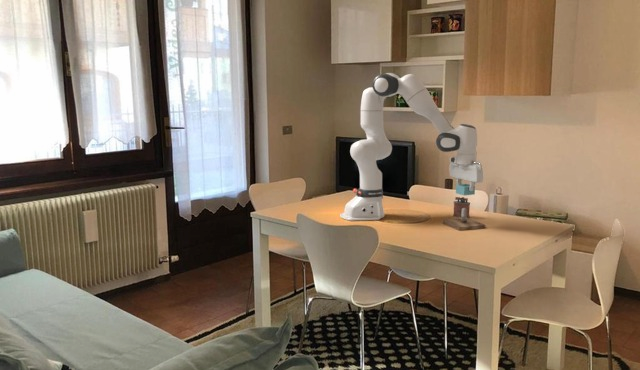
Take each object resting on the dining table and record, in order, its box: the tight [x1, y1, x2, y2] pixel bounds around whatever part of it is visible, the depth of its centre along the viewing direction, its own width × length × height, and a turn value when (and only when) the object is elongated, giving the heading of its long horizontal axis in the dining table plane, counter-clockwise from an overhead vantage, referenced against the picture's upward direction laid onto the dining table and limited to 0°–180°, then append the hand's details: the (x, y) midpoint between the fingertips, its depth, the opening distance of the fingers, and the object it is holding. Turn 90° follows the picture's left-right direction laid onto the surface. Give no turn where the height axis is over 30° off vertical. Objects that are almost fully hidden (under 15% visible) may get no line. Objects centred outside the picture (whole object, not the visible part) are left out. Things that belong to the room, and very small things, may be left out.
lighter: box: [452, 196, 471, 219], centre depth 281 cm, size 8×3×10 cm, turn 65°
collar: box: [455, 183, 476, 197], centre depth 261 cm, size 6×6×4 cm
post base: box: [442, 208, 486, 231], centre depth 263 cm, size 14×14×8 cm
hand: (465, 189), depth 261 cm, fingers closed on collar, 6 cm apart
